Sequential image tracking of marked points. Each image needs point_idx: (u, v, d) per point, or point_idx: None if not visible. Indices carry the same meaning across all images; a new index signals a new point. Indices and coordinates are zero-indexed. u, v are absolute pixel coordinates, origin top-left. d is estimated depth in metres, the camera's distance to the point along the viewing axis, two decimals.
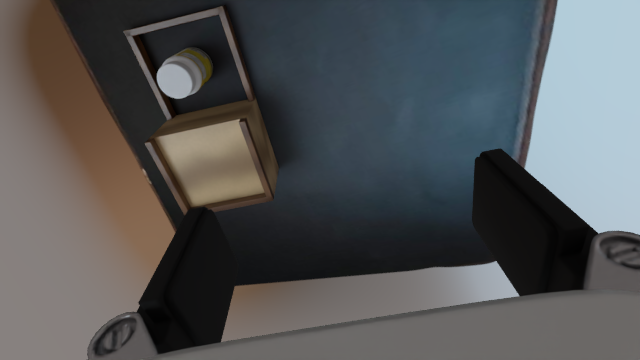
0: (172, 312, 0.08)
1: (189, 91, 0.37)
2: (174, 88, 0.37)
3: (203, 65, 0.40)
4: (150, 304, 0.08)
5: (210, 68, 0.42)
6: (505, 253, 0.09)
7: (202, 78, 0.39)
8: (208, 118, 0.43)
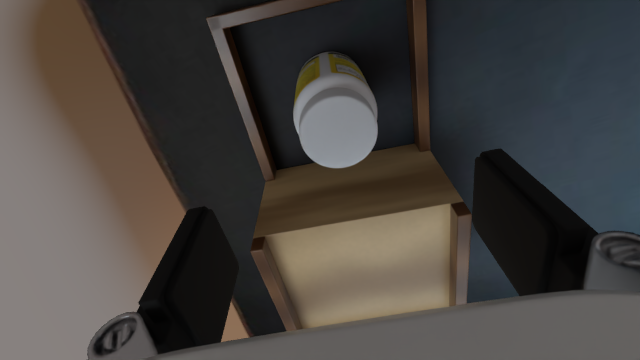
0: (172, 312, 0.08)
1: (365, 154, 0.17)
2: (333, 148, 0.16)
3: None
4: (150, 304, 0.08)
5: None
6: (505, 253, 0.09)
7: None
8: (360, 188, 0.22)
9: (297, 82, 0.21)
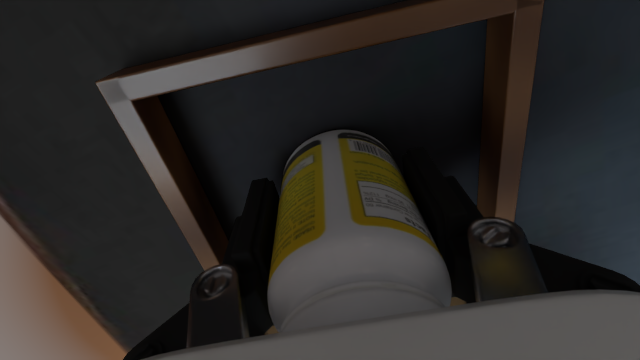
0: (258, 265, 0.09)
1: None
2: None
3: None
4: (241, 256, 0.08)
5: None
6: None
7: None
8: None
9: (281, 192, 0.11)
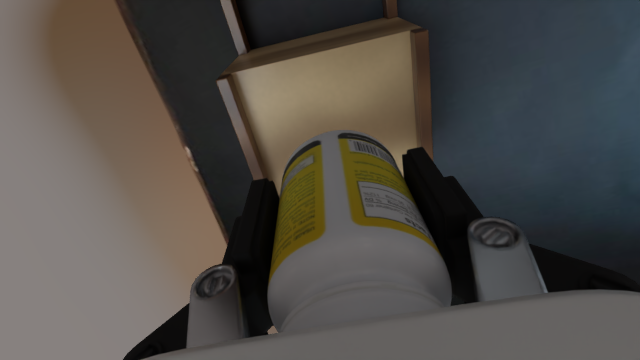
0: (258, 265, 0.09)
1: None
2: None
3: None
4: (241, 256, 0.08)
5: None
6: None
7: None
8: (326, 41, 0.23)
9: (281, 192, 0.11)
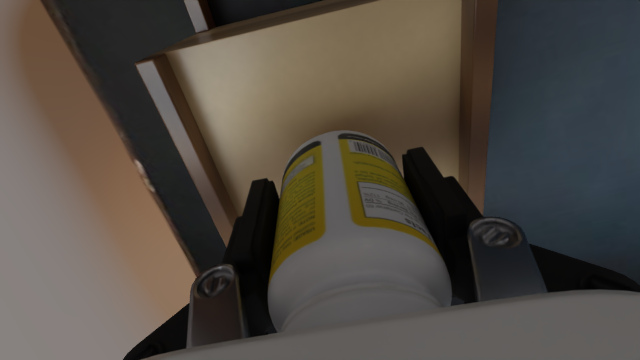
0: (258, 265, 0.09)
1: None
2: None
3: None
4: (241, 256, 0.08)
5: None
6: None
7: None
8: (322, 6, 0.15)
9: (281, 193, 0.11)
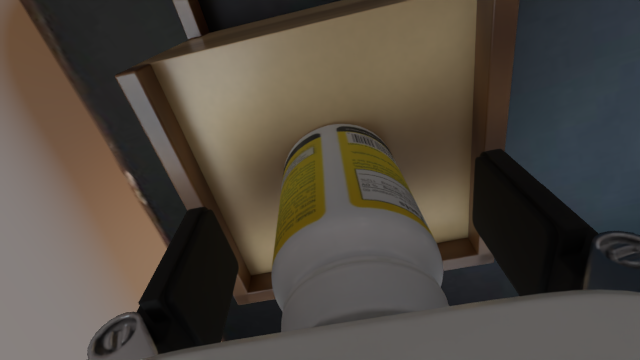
0: (172, 312, 0.08)
1: None
2: None
3: None
4: (150, 304, 0.08)
5: None
6: (505, 253, 0.09)
7: None
8: (323, 12, 0.14)
9: (283, 182, 0.12)
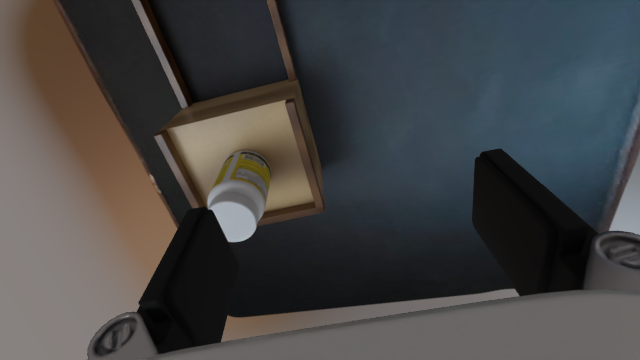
0: (172, 312, 0.08)
1: (251, 233, 0.25)
2: (229, 230, 0.25)
3: (264, 182, 0.28)
4: (150, 304, 0.08)
5: (269, 178, 0.31)
6: (505, 253, 0.09)
7: (265, 204, 0.27)
8: (238, 102, 0.32)
9: None
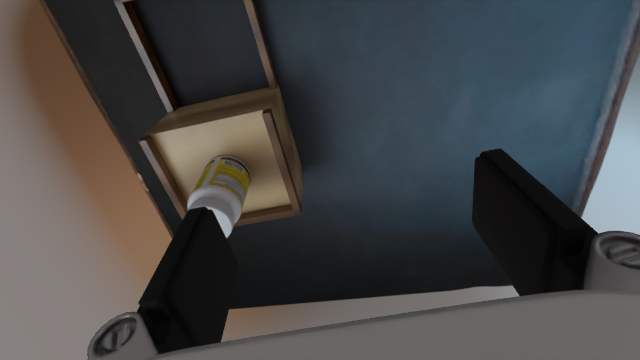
0: (172, 312, 0.08)
1: (227, 235, 0.27)
2: None
3: (242, 187, 0.30)
4: (150, 304, 0.08)
5: (248, 182, 0.33)
6: (505, 253, 0.09)
7: (242, 208, 0.29)
8: (220, 109, 0.33)
9: None
